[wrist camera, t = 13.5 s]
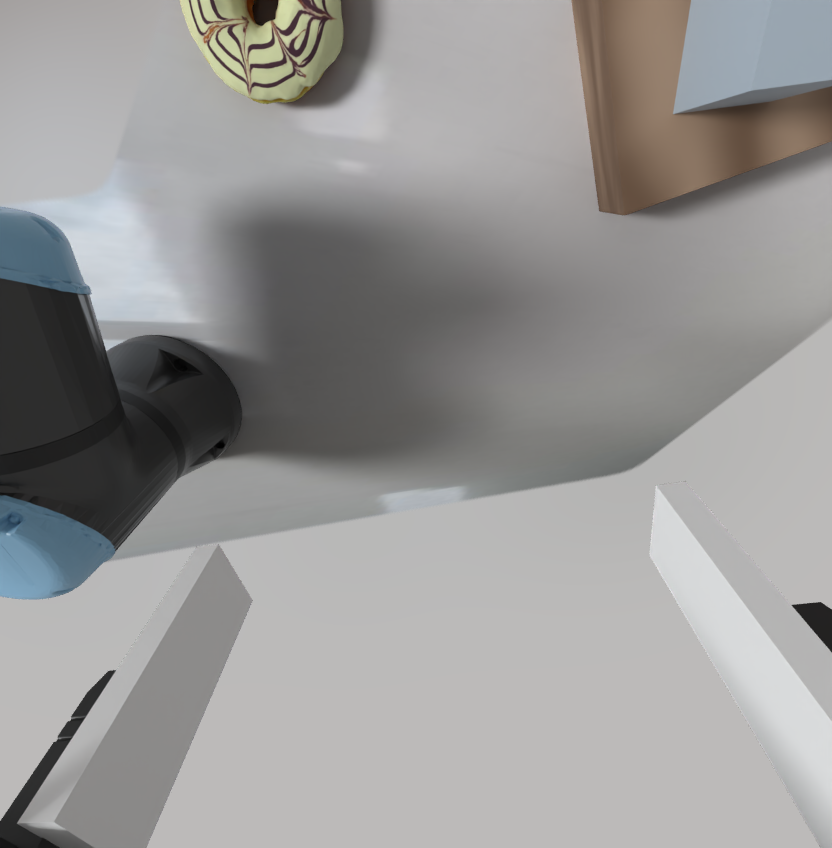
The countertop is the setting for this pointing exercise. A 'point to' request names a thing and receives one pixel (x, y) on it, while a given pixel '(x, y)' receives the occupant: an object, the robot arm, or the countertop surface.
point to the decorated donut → (267, 44)
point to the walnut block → (654, 104)
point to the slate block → (753, 52)
